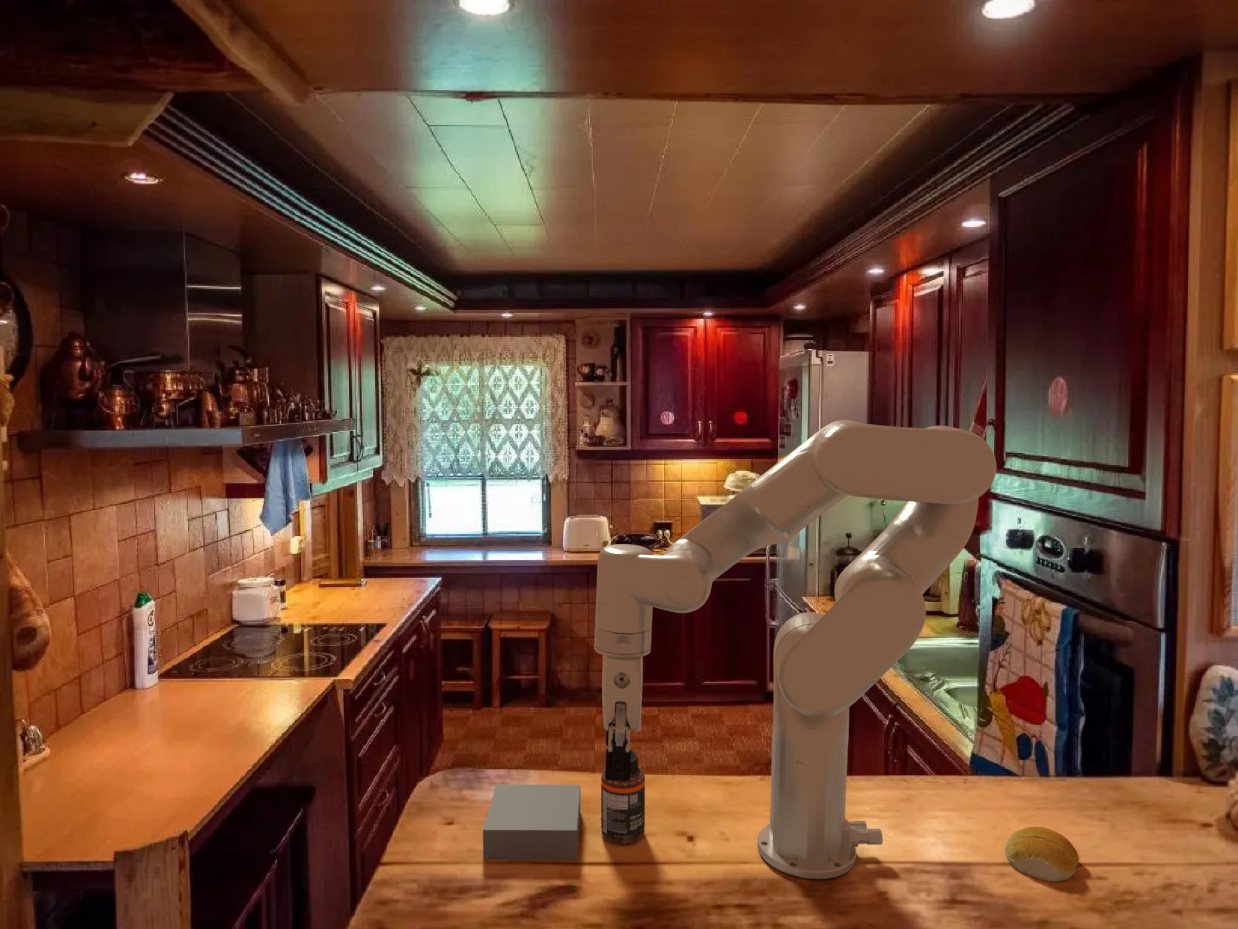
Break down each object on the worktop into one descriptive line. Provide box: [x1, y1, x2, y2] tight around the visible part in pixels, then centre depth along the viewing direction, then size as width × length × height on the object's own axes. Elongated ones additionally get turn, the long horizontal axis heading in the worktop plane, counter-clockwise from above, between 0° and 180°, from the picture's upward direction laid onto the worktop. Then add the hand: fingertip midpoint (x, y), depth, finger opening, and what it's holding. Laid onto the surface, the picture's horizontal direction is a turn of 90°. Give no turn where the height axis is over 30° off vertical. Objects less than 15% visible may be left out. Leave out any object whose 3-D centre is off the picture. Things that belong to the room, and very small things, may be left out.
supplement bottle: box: [600, 750, 646, 846], centre depth 111 cm, size 6×6×11 cm
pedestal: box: [482, 783, 582, 861], centre depth 111 cm, size 12×12×4 cm
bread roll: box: [1004, 826, 1080, 883], centre depth 106 cm, size 8×9×4 cm
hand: (617, 762), depth 111 cm, fingers open, 9 cm apart
